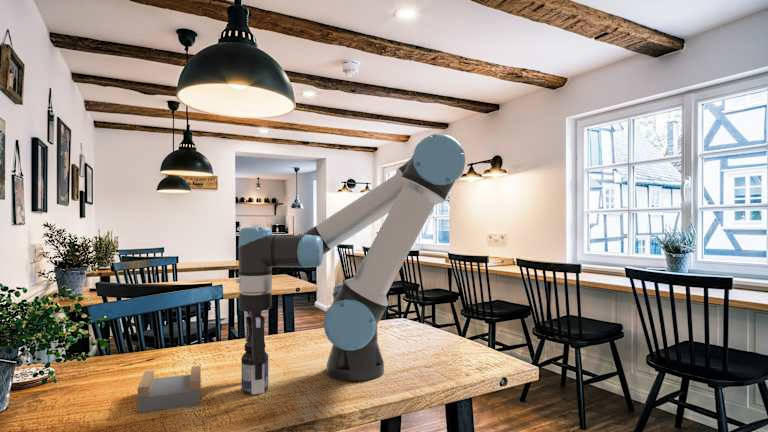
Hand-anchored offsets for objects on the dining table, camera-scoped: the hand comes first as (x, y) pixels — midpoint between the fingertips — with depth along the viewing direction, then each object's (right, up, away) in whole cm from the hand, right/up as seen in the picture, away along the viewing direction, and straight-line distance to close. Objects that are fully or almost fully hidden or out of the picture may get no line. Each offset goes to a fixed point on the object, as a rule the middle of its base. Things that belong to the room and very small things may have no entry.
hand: (255, 383), depth 106 cm
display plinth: (-18, -2, -5) cm, 18 cm away
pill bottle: (0, -2, 0) cm, 2 cm away
